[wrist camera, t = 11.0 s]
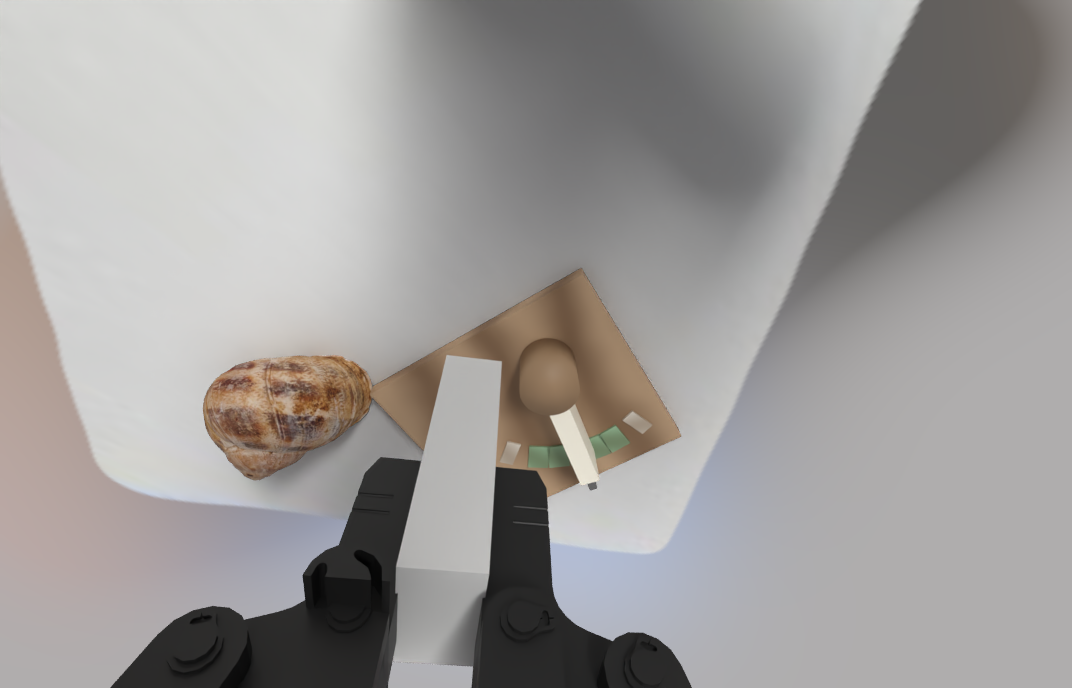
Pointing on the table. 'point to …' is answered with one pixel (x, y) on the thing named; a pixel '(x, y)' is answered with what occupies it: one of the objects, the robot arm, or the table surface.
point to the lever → (558, 400)
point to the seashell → (283, 409)
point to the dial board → (523, 436)
